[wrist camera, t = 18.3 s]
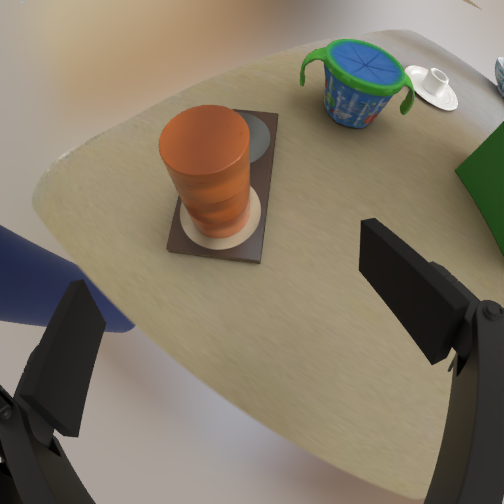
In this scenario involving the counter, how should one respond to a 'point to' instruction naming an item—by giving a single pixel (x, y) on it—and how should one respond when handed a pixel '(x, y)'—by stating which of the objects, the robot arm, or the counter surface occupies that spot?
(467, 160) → the hardback book
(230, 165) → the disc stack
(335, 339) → the counter surface
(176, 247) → the board
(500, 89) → the chinaware
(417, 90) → the candle holder
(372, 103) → the snack cup
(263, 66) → the counter surface
